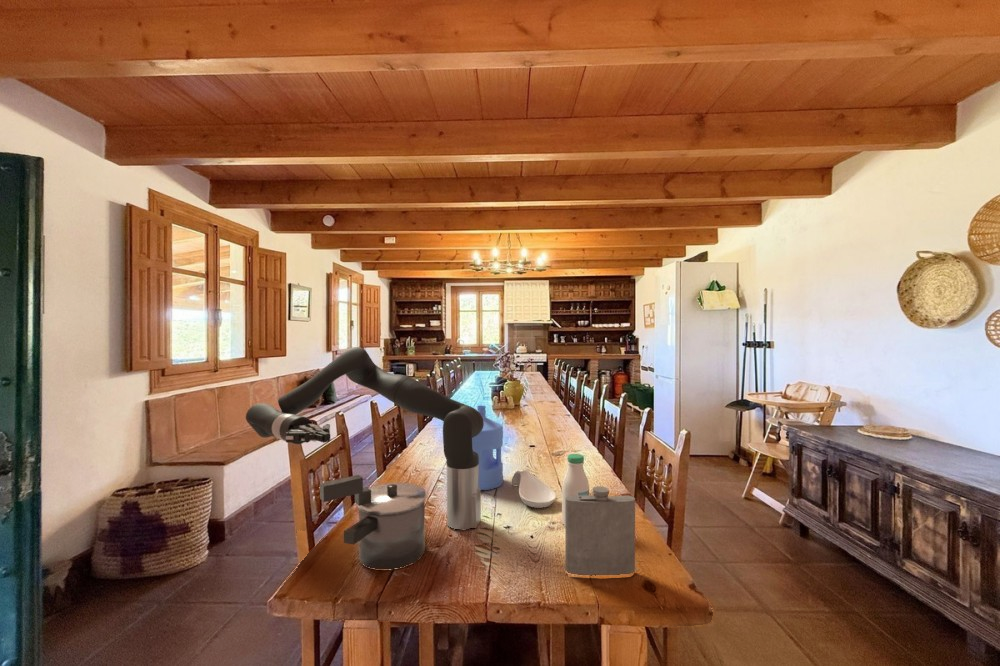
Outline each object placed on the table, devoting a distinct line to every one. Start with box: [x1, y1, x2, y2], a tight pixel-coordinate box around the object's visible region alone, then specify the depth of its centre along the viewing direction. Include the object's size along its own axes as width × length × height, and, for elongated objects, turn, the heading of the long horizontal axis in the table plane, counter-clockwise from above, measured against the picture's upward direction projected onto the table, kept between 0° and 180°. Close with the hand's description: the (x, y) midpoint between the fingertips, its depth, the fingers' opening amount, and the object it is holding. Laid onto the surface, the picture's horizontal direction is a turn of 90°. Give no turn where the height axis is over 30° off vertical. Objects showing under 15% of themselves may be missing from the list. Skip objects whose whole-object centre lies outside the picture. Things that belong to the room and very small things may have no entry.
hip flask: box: [564, 486, 636, 576], centre depth 99 cm, size 16×4×20 cm, turn 90°
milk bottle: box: [561, 453, 590, 526], centre depth 124 cm, size 8×8×20 cm
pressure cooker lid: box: [319, 474, 427, 515], centre depth 106 cm, size 25×17×8 cm, turn 129°
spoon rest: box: [510, 470, 557, 509], centre depth 144 cm, size 24×12×7 cm, turn 21°
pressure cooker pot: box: [343, 502, 426, 569], centre depth 105 cm, size 24×16×13 cm, turn 159°
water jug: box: [472, 405, 504, 491], centre depth 157 cm, size 16×16×28 cm
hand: (327, 438), depth 111 cm, fingers closed
